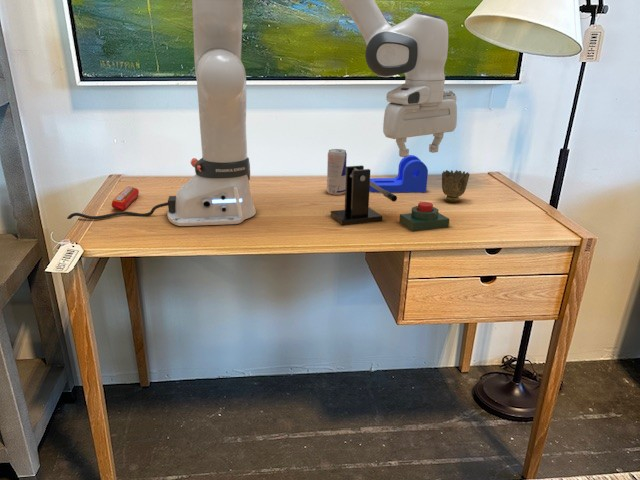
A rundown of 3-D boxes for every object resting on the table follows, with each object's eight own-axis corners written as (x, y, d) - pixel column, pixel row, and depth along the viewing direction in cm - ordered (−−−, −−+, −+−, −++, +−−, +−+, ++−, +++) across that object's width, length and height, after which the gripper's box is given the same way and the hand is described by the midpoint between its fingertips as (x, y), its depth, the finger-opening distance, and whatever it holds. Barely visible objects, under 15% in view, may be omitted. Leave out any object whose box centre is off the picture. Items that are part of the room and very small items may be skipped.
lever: (385, 198, 153) (390, 190, 152) (394, 204, 148) (399, 195, 148) (347, 174, 146) (352, 166, 145) (354, 179, 142) (360, 170, 141)
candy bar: (124, 212, 151) (122, 201, 150) (110, 212, 151) (108, 200, 150) (141, 195, 166) (139, 184, 164) (128, 195, 166) (126, 184, 164)
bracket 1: (369, 212, 154) (371, 163, 148) (382, 221, 148) (385, 170, 142) (330, 215, 151) (331, 166, 145) (341, 225, 144) (343, 173, 138)
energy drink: (348, 191, 172) (349, 150, 166) (341, 196, 167) (342, 153, 162) (331, 189, 174) (332, 148, 168) (324, 193, 169) (324, 151, 164)
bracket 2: (419, 184, 180) (422, 155, 175) (426, 192, 172) (429, 161, 168) (361, 185, 178) (362, 155, 174) (365, 192, 171) (367, 161, 167)
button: (422, 213, 142) (422, 206, 141) (415, 209, 145) (415, 202, 144) (435, 212, 143) (435, 205, 142) (427, 208, 146) (428, 201, 145)
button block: (412, 231, 141) (413, 215, 139) (399, 222, 147) (400, 207, 145) (448, 227, 144) (450, 211, 142) (434, 218, 150) (435, 203, 148)
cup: (443, 196, 169) (446, 168, 165) (468, 199, 166) (472, 171, 162) (435, 202, 163) (438, 173, 159) (461, 206, 160) (465, 177, 156)
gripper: (447, 88, 141) (441, 147, 147) (380, 94, 131) (377, 156, 137) (466, 91, 136) (459, 151, 143) (399, 97, 126) (394, 161, 133)
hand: (418, 154), depth 140 cm, fingers open, 8 cm apart
